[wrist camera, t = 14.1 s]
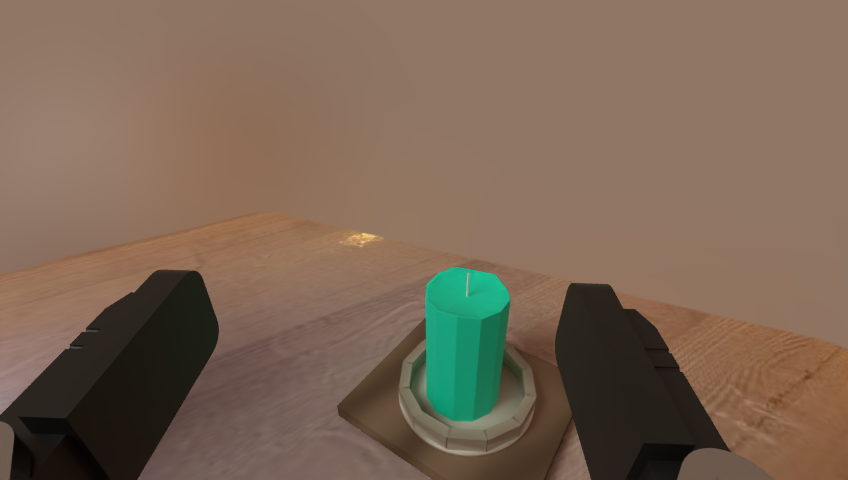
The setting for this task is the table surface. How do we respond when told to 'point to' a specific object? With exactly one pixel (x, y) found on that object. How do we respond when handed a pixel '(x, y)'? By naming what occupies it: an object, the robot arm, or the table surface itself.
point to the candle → (465, 342)
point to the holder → (459, 440)
